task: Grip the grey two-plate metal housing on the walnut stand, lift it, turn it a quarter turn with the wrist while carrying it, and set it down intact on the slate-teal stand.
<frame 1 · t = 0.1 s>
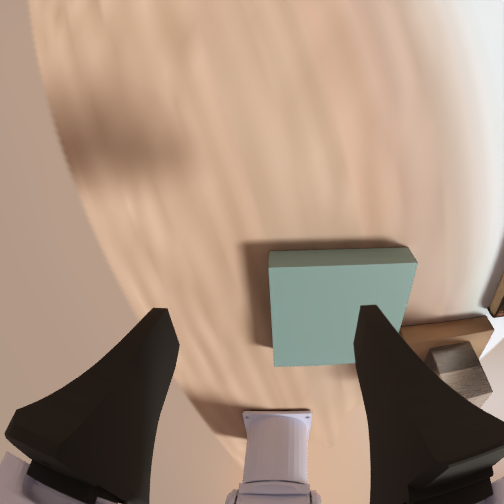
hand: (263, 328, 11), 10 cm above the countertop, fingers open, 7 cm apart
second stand: (336, 304, 23), on the countertop
housing: (437, 371, 25), point 2 cm above the countertop, touching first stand
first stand: (431, 356, 26), on the countertop
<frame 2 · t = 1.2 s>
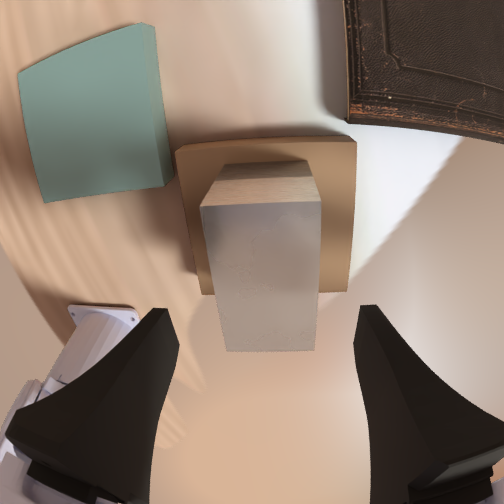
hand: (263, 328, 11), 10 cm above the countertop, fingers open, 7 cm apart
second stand: (95, 116, 17), on the countertop
hardcover book: (489, 35, 12), on the countertop
housing: (270, 227, 18), point 2 cm above the countertop, touching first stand
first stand: (270, 213, 20), on the countertop
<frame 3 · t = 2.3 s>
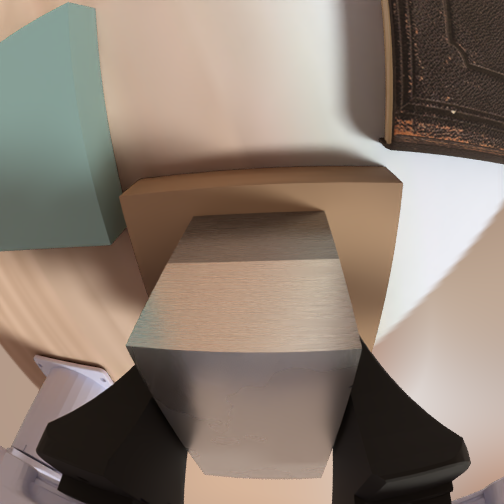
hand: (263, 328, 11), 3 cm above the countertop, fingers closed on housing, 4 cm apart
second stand: (27, 140, 11), on the countertop
housing: (265, 304, 13), point 2 cm above the countertop, touching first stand, gripper
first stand: (267, 275, 14), on the countertop
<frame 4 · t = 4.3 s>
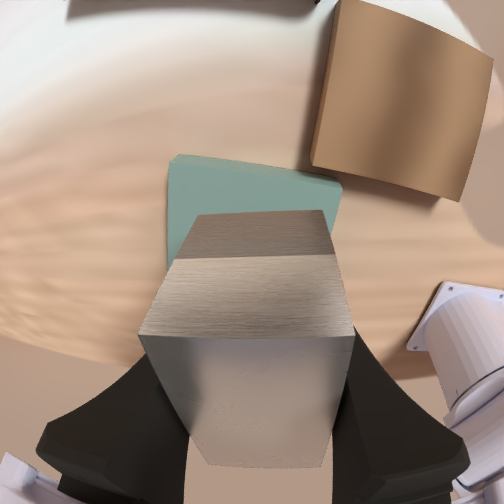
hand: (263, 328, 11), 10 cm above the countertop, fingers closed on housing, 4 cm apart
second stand: (247, 234, 21), on the countertop
housing: (266, 299, 13), point 8 cm above the countertop, touching gripper
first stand: (402, 99, 15), on the countertop
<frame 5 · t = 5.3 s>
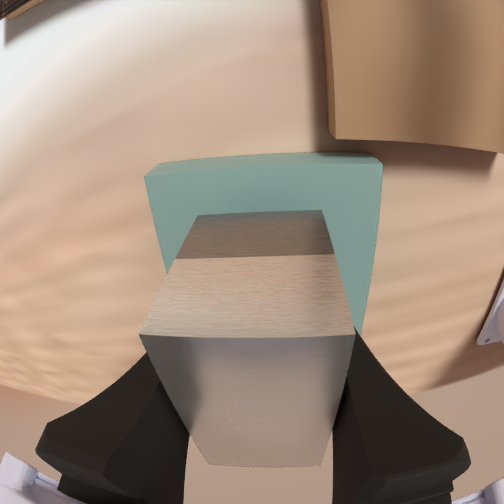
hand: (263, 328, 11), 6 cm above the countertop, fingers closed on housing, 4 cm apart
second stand: (269, 249, 16), on the countertop
housing: (265, 298, 13), point 4 cm above the countertop, touching gripper
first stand: (426, 37, 10), on the countertop
when the fingers open (4 cm above the countertop, at t = 6.1 s): housing stays where it is, resting on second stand.
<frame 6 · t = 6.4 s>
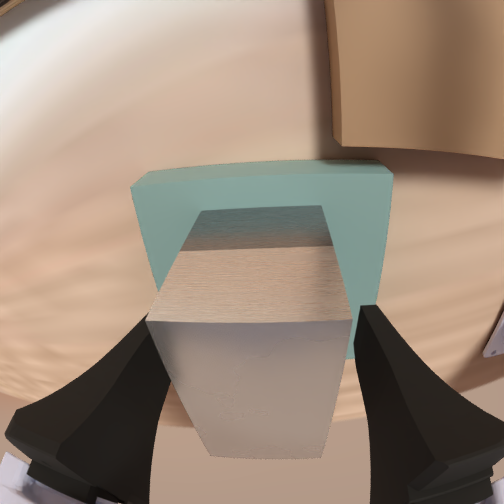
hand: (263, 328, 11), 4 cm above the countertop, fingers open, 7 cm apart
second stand: (267, 263, 15), on the countertop
housing: (267, 293, 14), point 2 cm above the countertop, touching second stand
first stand: (438, 34, 9), on the countertop
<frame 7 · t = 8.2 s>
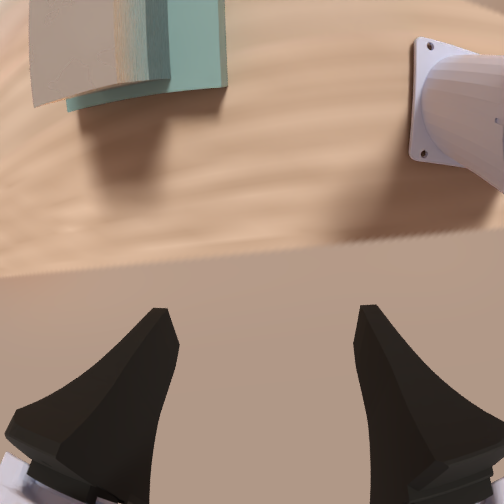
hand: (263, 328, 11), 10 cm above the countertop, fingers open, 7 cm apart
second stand: (144, 22, 14), on the countertop
housing: (130, 21, 12), point 2 cm above the countertop, touching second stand
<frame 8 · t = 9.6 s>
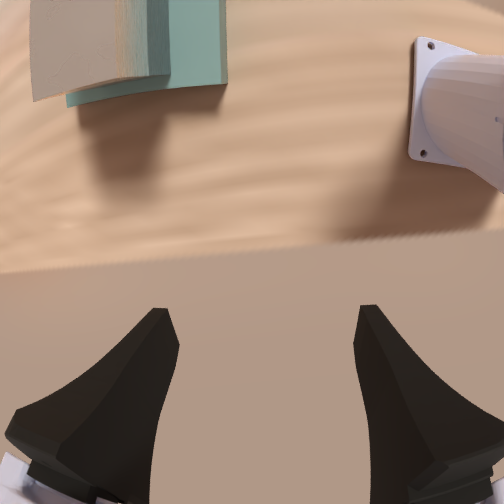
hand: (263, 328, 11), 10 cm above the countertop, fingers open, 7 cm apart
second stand: (145, 18, 14), on the countertop
housing: (131, 17, 12), point 2 cm above the countertop, touching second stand
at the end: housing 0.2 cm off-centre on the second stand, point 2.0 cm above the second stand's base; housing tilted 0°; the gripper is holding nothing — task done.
